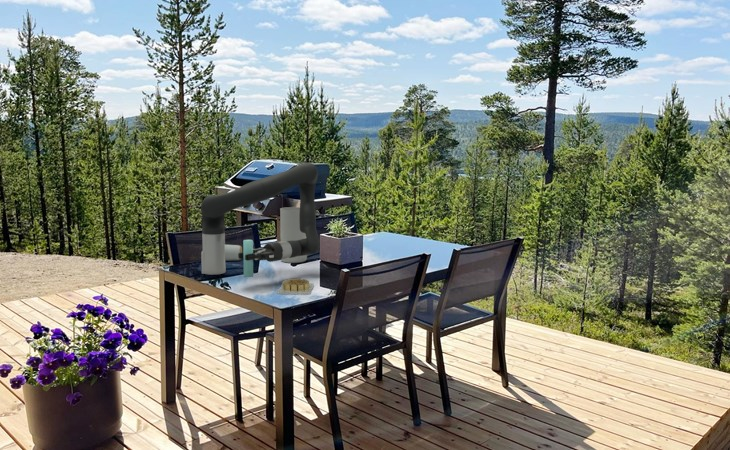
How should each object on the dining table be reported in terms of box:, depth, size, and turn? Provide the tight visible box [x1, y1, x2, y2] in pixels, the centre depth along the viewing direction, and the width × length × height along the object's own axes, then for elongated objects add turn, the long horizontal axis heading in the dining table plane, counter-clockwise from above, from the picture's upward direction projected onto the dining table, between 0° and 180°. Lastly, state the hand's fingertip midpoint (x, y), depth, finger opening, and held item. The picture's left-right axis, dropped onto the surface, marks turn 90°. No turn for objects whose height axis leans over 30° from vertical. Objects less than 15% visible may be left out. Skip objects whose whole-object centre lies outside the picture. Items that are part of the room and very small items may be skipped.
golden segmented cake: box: [276, 278, 315, 296], centre depth 208 cm, size 12×13×3 cm
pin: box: [242, 239, 254, 278], centre depth 208 cm, size 4×4×14 cm
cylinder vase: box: [279, 206, 308, 264], centre depth 259 cm, size 12×12×25 cm
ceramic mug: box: [225, 243, 243, 262], centre depth 261 cm, size 11×8×8 cm
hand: (242, 256), depth 206 cm, fingers closed on pin, 3 cm apart
